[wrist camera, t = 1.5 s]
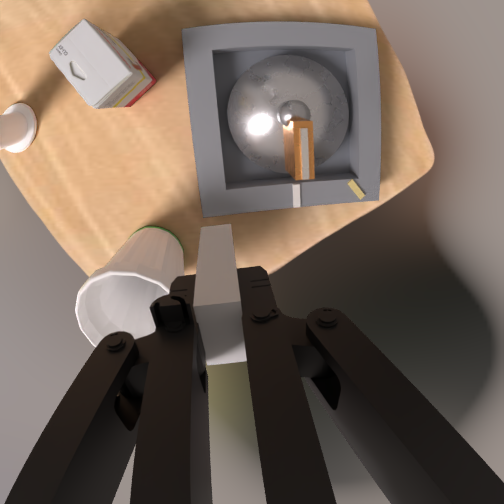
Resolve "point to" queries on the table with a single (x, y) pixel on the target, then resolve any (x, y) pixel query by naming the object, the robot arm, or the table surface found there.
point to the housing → (221, 140)
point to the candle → (17, 128)
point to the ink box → (101, 67)
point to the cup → (130, 285)
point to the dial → (288, 115)
